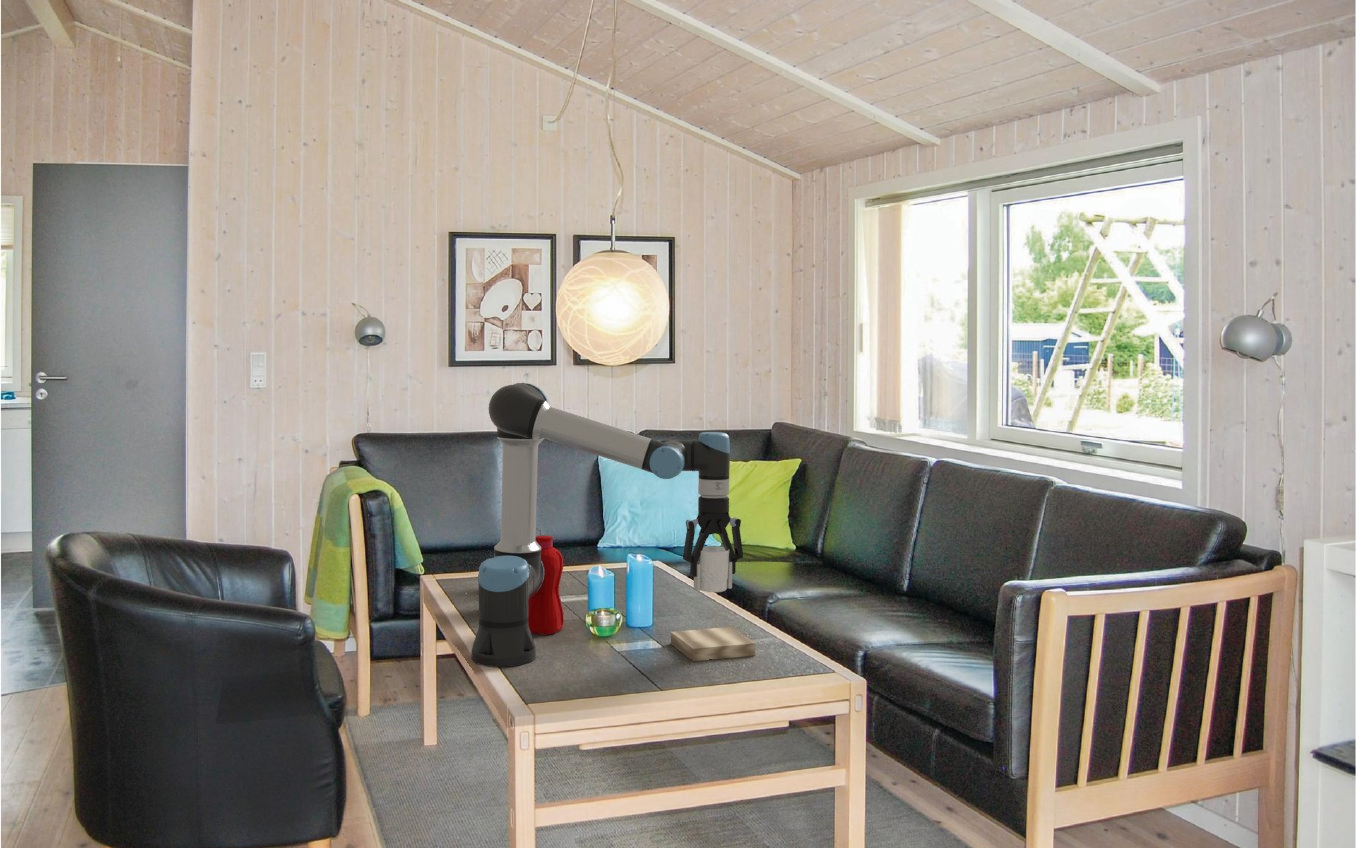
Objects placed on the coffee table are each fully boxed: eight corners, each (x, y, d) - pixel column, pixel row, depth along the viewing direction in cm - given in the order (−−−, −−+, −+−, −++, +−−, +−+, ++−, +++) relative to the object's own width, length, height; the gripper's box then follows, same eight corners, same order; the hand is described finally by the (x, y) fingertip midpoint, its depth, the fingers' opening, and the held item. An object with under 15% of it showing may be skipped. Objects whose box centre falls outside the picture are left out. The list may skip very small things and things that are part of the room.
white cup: (716, 594, 266) (717, 553, 266) (690, 590, 271) (690, 549, 270) (735, 589, 273) (735, 548, 272) (709, 584, 277) (709, 544, 277)
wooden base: (693, 661, 263) (693, 648, 263) (670, 643, 278) (670, 631, 278) (755, 655, 268) (755, 643, 268) (730, 638, 283) (730, 626, 283)
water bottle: (569, 626, 294) (569, 532, 292) (553, 637, 283) (554, 539, 281) (537, 623, 296) (537, 530, 294) (520, 634, 285) (520, 537, 284)
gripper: (679, 499, 263) (678, 594, 265) (758, 496, 270) (757, 589, 272) (669, 495, 270) (668, 588, 272) (746, 492, 277) (745, 582, 279)
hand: (712, 588), depth 272 cm, fingers closed on white cup, 8 cm apart
